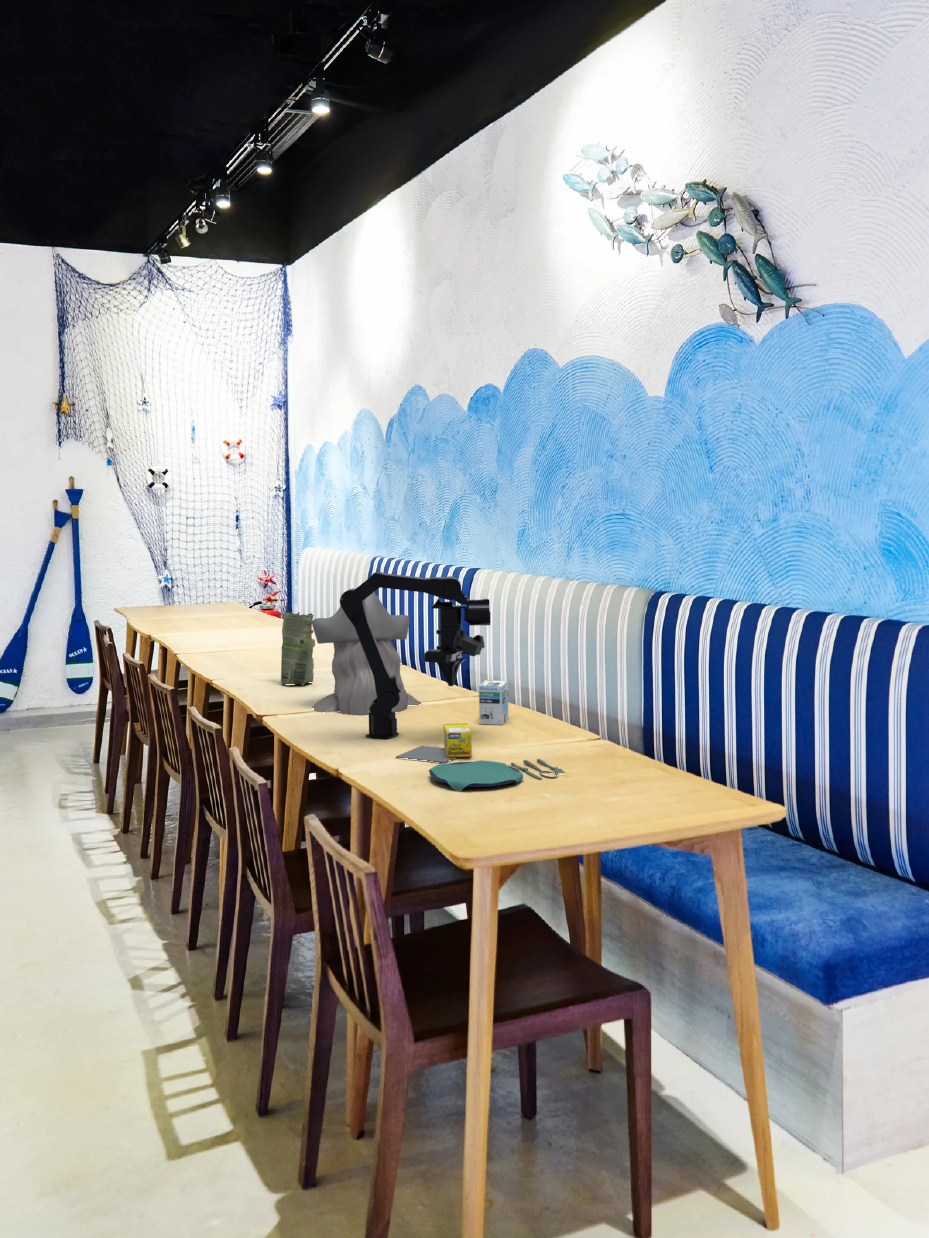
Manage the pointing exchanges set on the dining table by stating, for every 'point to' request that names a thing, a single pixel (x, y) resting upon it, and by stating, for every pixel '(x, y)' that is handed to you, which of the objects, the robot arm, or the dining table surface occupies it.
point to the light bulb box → (493, 702)
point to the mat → (427, 754)
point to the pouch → (297, 649)
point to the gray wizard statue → (360, 658)
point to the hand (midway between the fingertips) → (451, 685)
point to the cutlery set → (484, 773)
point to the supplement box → (457, 740)
